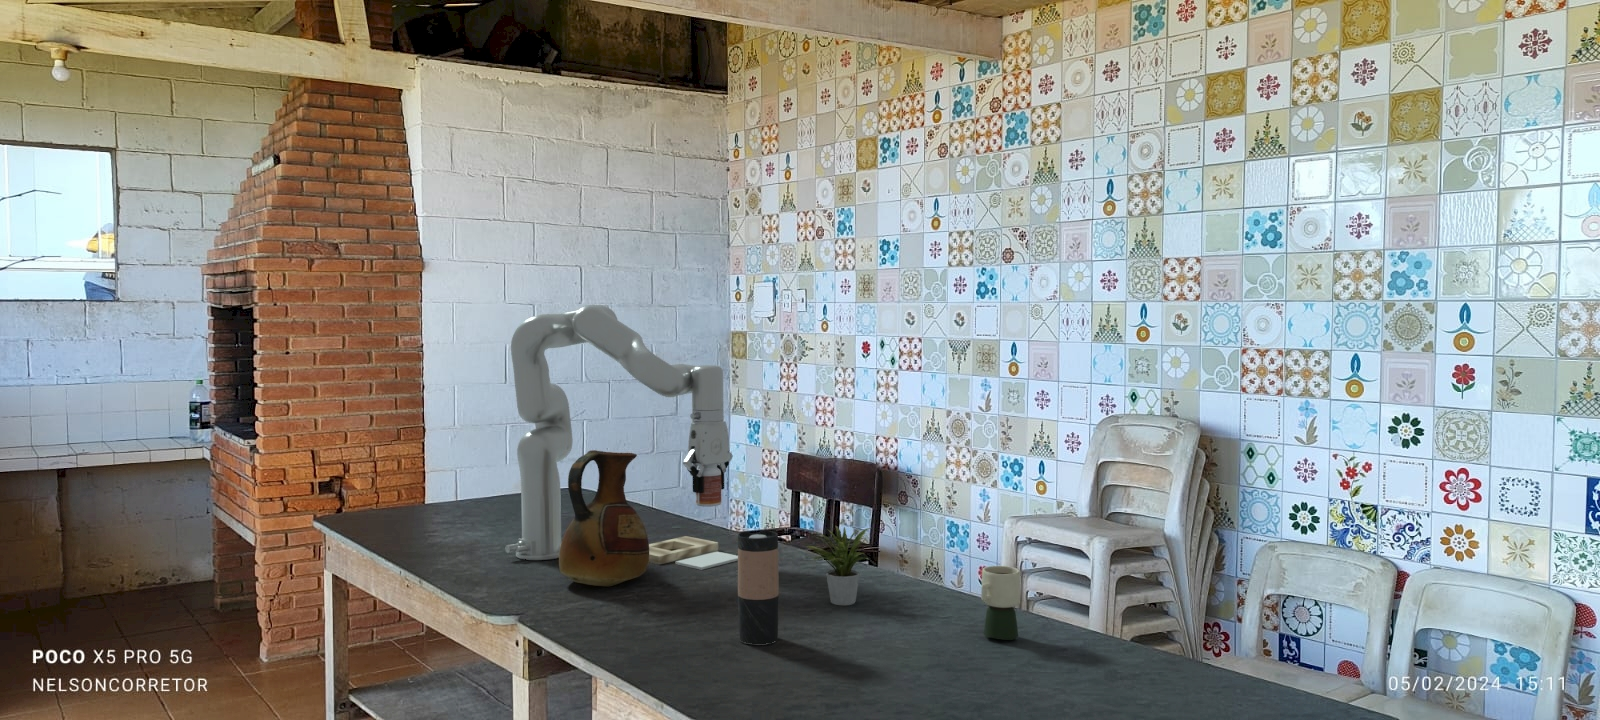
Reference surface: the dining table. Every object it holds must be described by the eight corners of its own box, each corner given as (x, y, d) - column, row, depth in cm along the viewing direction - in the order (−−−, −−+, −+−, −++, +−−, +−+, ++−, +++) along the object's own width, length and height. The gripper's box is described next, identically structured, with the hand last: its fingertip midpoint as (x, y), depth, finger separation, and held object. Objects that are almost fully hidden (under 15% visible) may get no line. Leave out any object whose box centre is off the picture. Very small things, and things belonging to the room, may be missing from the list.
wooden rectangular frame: (659, 564, 271) (658, 556, 271) (626, 557, 279) (626, 549, 279) (718, 550, 286) (718, 542, 286) (685, 543, 294) (685, 536, 294)
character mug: (1004, 628, 218) (1004, 562, 217) (1034, 636, 212) (1034, 568, 212) (967, 640, 211) (967, 571, 210) (997, 649, 205) (997, 578, 205)
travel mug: (764, 648, 206) (763, 540, 205) (730, 642, 210) (729, 535, 209) (786, 638, 212) (786, 532, 211) (753, 631, 217) (752, 528, 215)
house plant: (844, 588, 249) (844, 514, 248) (892, 599, 239) (892, 523, 238) (798, 600, 239) (797, 523, 238) (845, 613, 229) (845, 533, 228)
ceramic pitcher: (667, 581, 255) (665, 449, 254) (594, 598, 241) (592, 459, 239) (613, 567, 269) (611, 442, 267) (541, 583, 254) (539, 450, 252)
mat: (701, 569, 266) (701, 567, 266) (675, 563, 272) (675, 561, 272) (742, 559, 276) (742, 556, 276) (716, 553, 282) (716, 551, 282)
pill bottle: (726, 504, 273) (726, 459, 272) (707, 508, 269) (706, 462, 268) (710, 501, 278) (710, 456, 277) (690, 504, 273) (690, 459, 273)
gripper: (692, 420, 263) (693, 497, 264) (744, 414, 276) (744, 487, 277) (670, 418, 268) (671, 493, 269) (722, 412, 281) (722, 484, 282)
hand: (708, 490), depth 273 cm, fingers closed on pill bottle, 6 cm apart
